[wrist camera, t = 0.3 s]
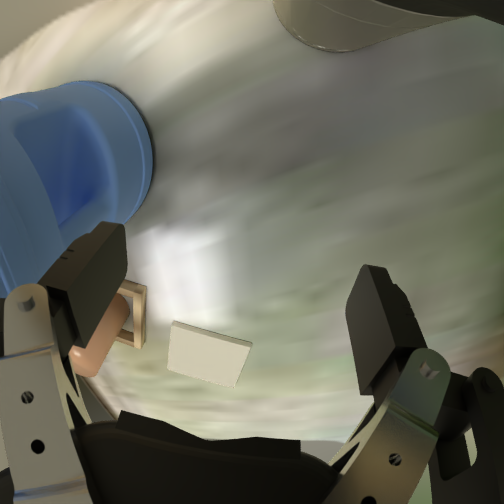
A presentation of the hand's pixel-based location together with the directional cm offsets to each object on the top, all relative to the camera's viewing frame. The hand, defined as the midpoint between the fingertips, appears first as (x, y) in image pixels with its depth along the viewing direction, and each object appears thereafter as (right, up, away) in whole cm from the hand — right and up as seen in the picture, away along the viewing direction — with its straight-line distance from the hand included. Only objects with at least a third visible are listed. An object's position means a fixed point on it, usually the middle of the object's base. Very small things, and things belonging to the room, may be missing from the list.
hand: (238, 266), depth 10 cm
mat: (-6, -13, +30) cm, 33 cm away
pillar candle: (-19, -6, +27) cm, 34 cm away
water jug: (-16, +10, +17) cm, 26 cm away
